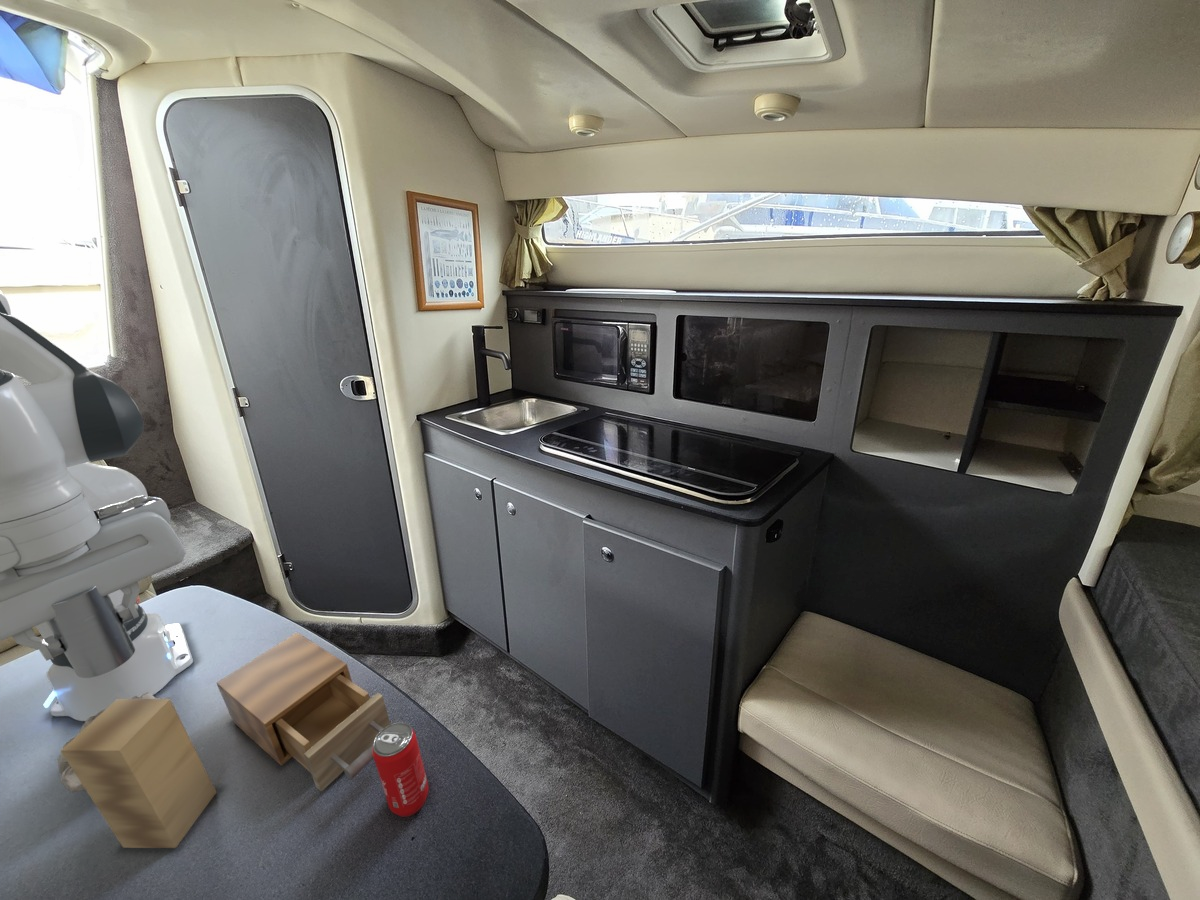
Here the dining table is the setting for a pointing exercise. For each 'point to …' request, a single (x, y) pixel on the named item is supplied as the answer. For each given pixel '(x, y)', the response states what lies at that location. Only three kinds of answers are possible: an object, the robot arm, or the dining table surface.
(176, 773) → the wooden block
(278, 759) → the cabinet
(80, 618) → the tin
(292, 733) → the drawer
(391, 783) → the beverage can
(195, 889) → the dining table surface
